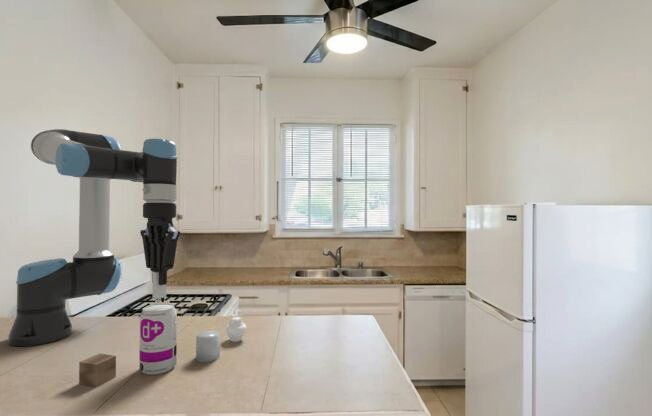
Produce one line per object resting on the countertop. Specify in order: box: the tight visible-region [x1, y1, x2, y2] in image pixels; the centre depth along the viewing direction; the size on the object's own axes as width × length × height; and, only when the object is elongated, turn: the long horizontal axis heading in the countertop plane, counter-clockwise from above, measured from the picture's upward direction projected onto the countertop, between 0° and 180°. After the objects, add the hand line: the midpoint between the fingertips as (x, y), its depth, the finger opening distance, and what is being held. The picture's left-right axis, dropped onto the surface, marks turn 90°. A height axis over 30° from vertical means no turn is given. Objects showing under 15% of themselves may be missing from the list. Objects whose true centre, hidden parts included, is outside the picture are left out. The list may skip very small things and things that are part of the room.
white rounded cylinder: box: [195, 330, 221, 363], centre depth 93 cm, size 6×6×6 cm
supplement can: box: [138, 303, 178, 376], centre depth 87 cm, size 8×8×15 cm
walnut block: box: [78, 352, 117, 388], centre depth 80 cm, size 5×5×5 cm
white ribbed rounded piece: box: [225, 316, 247, 343], centre depth 106 cm, size 6×6×7 cm
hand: (159, 297), depth 87 cm, fingers closed
